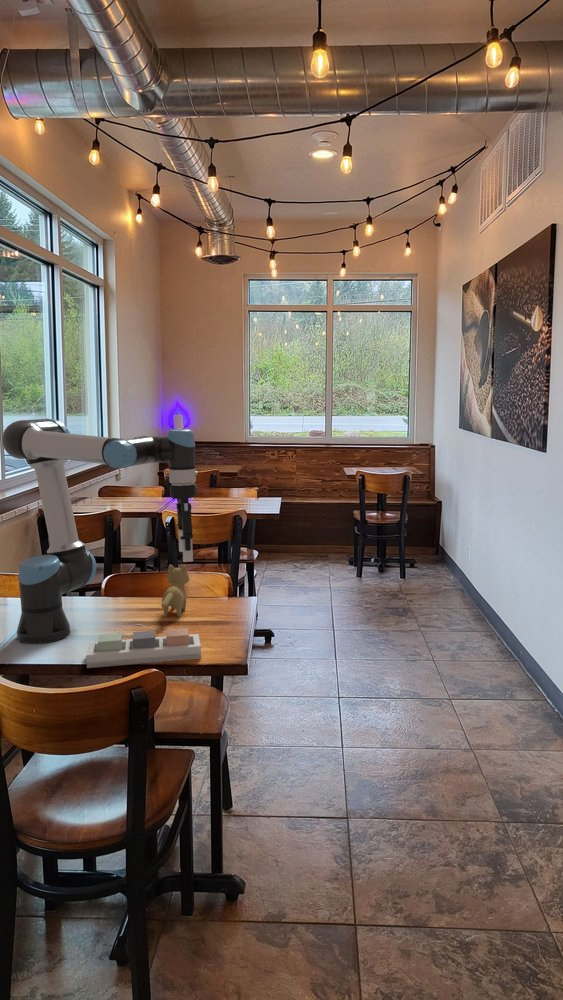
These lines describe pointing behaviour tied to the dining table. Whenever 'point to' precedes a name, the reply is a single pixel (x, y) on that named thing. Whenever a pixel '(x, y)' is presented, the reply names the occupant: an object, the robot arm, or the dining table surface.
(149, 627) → the flat thin panel
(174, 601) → the toy
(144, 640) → the key charcoal
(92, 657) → the keypad
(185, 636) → the key terracotta
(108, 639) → the key sage
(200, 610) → the dining table surface
